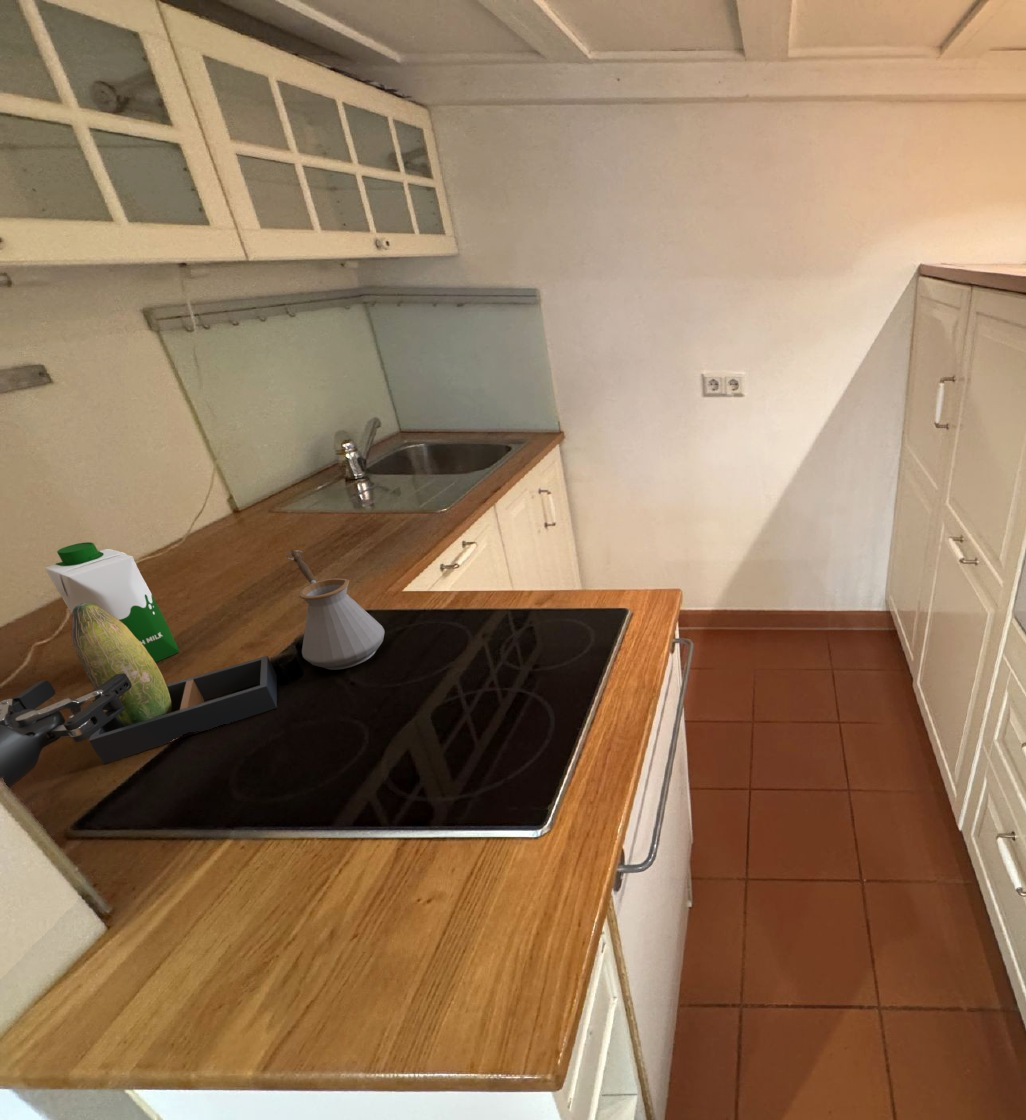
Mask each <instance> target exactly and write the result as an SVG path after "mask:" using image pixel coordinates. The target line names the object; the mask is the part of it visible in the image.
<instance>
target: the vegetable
mask: <svg viewBox="0 0 1026 1120" xmlns="http://www.w3.org/2000/svg"><path fill="white" fill-rule="evenodd" d="M71 617H72V618H71V619H72V621H71V622H72V623H71V624H72V625H71V633H70V634H71V635H70V636H71V642H72V645H73V648H74V652H75V654H76V656H77V657H78V659H79V661H80V663H81V665H82V668H83V669H84V671H85V673H86V675H87V678H88V679H89V681H90V683H91V685H92V686H93V689H94V690H95V689H97V688H98V687H99V686H101V685H102V684H103V683H105V682H106V681H107V680H109V679H110V678H111V677H113V676H114V675H116V674H121V673H125V674H126V675H127V677H128V678H129V680H130V682H131V684H132V687H131V688H130V689H129V690H128V691H127V692H125V693H124V694H123V695H122V696H120V697H119V699H120V701H121V702H122V704H123V705H124V707H125V710H124V711H122V712H121V713H120V714H118V715H117V716H116V718H117V719H118V720H119V722H120V723H122V724H123V725H124V727H126V726H129V725H132V724H136V723H139V722H142V721H146V720H149V719H152V718H155V717H159V716H162V715H165V714H168V713H172V711H171V708H172V703H171V698H170V694H169V691H168V688H167V683H166V680H165V679H164V676H163V674H162V671H161V669H160V668H159V666H158V665H157V662H156V663H155V661H154V660H153V658H152V657H151V656H150V654H149V653H148V652H147V650H146V648H145V647H144V646H143V645H142V643H141V642H140V641H139V640H138V639H137V638H136V637H135V636H134V635H133V634H132V632H131V631H130V630H129V629H128V628H127V627H126V626H125V625H124V624H123V623H122V622H121V621H119V620H118V619H116V618H115V617H113V616H111V615H110V614H108V613H107V612H105V611H104V610H102V609H101V608H100V607H98V606H97V605H95V604H92V603H81V604H79V605H78V606H76V607H75V608H74V609H73V612H72V614H71Z"/></svg>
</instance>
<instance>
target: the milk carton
mask: <svg viewBox="0 0 1026 1120" xmlns="http://www.w3.org/2000/svg"><path fill="white" fill-rule="evenodd" d="M56 553H57V555H58V556H59V558H60V560H61V561H60V562H57V563H55V564H52V565H49V566H46V567H44V569H45V571H46V573H47V574H48V576H49V578H50V580H51V581H52V583H53V585H54V586H55V588H56V590H57V592H58V593H59V595H60V597H61V599H62V600H63V602H64V603H65V605H66V607H67V609H68V611H69V612H70V614H71V615H72V612H73V609H74V608H75V607H76V606H78V605H79V604H81V603H92V604H95V605H97V606H98V607H100V608H101V609H102V610H104V611H105V612H107V613H108V614H110V615H111V616H113V617H115V618H116V619H118V620H119V621H121V622H122V623H123V624H124V625H125V626H126V627H127V628H128V629H129V630H130V631H131V632H132V634H133V635H134V636H135V637H136V638H137V639H138V640H139V641H140V642H141V643H142V645H143V646H144V647H145V648H146V650H147V652H148V653H149V654H150V656H151V657H152V658H153V660H154V661H155V663H156V664H157V663H158V662H160V661H162V660H165V659H167V658H169V657H171V656H174V655H176V654H179V653H180V650H179V646H178V644H177V643H176V641H175V638H174V636H173V633H172V632H171V629H170V627H169V625H168V623H167V621H166V619H165V616H164V615H163V613H162V611H161V609H160V607H159V605H158V604H157V602H156V600H155V598H154V596H153V594H152V592H151V590H150V588H149V587H148V584H147V583H146V581H145V579H144V577H143V576H142V574H141V571H140V570H139V568H138V565H137V563H136V561H135V559H134V556H132V555H129V554H127V553H126V552H122V551H118V550H115V549H111V548H104V549H101V550H98V548H97V547H96V545H95V543H94V542H91V541H88V542H87V541H86V542H79V543H74V544H70V545H67V546H64V547H61V548H60V549H58V550H57V551H56Z"/></svg>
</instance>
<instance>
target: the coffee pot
mask: <svg viewBox="0 0 1026 1120" xmlns="http://www.w3.org/2000/svg"><path fill="white" fill-rule="evenodd" d="M299 552H300V553H301V555H299ZM289 555H291V556H292V557H293V558H290V557H289ZM303 555H304V553H303V551H302V550H295V549H291V550H290V552H288V553H287V554H286V558H287V559H288V560H289V561H290V560H291V561H294V563H296V564H297V567H298V569H299V571H300V572H301V573H302V575H303V576H304V577H305V578H306V580H307V581H308V582H309V584H308V585H306V586H305V587H303V588H302V589H300V590H299V593H298V596H299V598H301V599H302V600H304V601H306V603H307V607H308V608H307V612H306V620H305V626H304V632H303V633H304V634H303V641H302V646H301V647H302V648H301V654H302V658H303V659H304V660H305V661H307V663H310V664H311V665H312V666H316V667H320V668H324V669H326V670H337V671H338V670H344V669H349V668H352V667H355V666H357V665H360V664H362V663H364V662H366V661H367V660H369V659H371V658H372V657H373V656H374V655H375V654H376V652H377V650H378V649H379V648H380V646H381V645H382V644H383V642H384V637H385V631H386V630H385V629H384V627H383V625H381V623H379V622H378V621H377V620H376V619H375V618H374V617H373V616H372V615H371V614H370V613H368V612H367V611H366V610H365V609H364V608H363V606H361V605H360V604H359V603H357V602H356V601H355V600H354V599H353V598H352V597H351V596H350V595H349V594H347V592H348V587H349V584H350V580H349V579H347V578H341V577H340V578H335V577H334V578H328V579H323V580H318V581H317V580H316V578H315V576H314V574H313V572H312V571H311V568H310V567H309V565H308V564H307V563H306V562H305V561H304V560H303V557H302V556H303Z"/></svg>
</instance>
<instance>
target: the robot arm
mask: <svg viewBox="0 0 1026 1120" xmlns="http://www.w3.org/2000/svg"><path fill="white" fill-rule="evenodd" d="M131 687H132V684H131V682H130V680H129V678H128V677H127V675H126V674H125V673H121V674H116V675H114V676H113V677H111V678H110V679H109V680H107V681H106V682H105V683H103V684H102V685H101V686H99V687H98V688H97V689H95V688H94V690H93V691H91V692H89V693H87V694H85V695H82V696H80V697H78V698H72V697H67V698H64V699H62V700H59V701H57V702H54V703H53V704H50V705H48V706H46V707H42V708H38V707H39V706H41V705H42V704H45V703H46V702H47V701H49V700H50V699H51V698H52V697H54V696H55V695H56V690H55V688H54V686H52V683H51V682H50V681H49V680H40V681H36V683H33V684H32V685H30V686H29V687H28V688H26V689H25V690H23V691H22V692H20V693H19V694H17V695H16V696H14V697H13V698H6V699H3V700H1V701H0V778H3V779H4V782H5V783H6V785H7V786H8V787H9V789H10V788H11V787H13V786H14V785H15V784H17V783H18V782H20V780H21V779H23V778H24V777H25V776H27V775H28V774H29V773H30V772H31V771H33V770H34V769H35V767H36V766H37V764H38V761H39V758H40V754H41V752H42V750H43V749H44V748H46V747H47V746H49V745H50V744H53V743H54V742H56V741H59V740H60V739H61V738H69V737H71V738H72V740H73V742H75V743H80V742H81V743H82V742H83V741H86V740H87V739H89V738H90V736H91V735H92V734H94V733H95V732H96V731H98V730H99V729H100V728H101V727H103V726H104V725H105V724H107V723H108V722H109V721H111V720H112V719H113V718H114V717H116V716H117V715H118V714H120V713H121V712H122V711H124V710H125V707H124V705H123V704H122V702H121V701H120V699H119V697H120V696H122V695H123V694H124V693H125V692H127V691H128V690H129V689H130V688H131ZM90 702H91V703H90ZM88 703H90V704H88ZM86 704H88V705H87V706H85V707H84V708H83V709H81V707H82V706H83V705H86ZM63 710H68V711H69V713H70V714H71V715H69V716H68V720H66V719H65V716H64V715H63V714H62V712H61V711H63ZM106 711H107V712H106Z"/></svg>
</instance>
